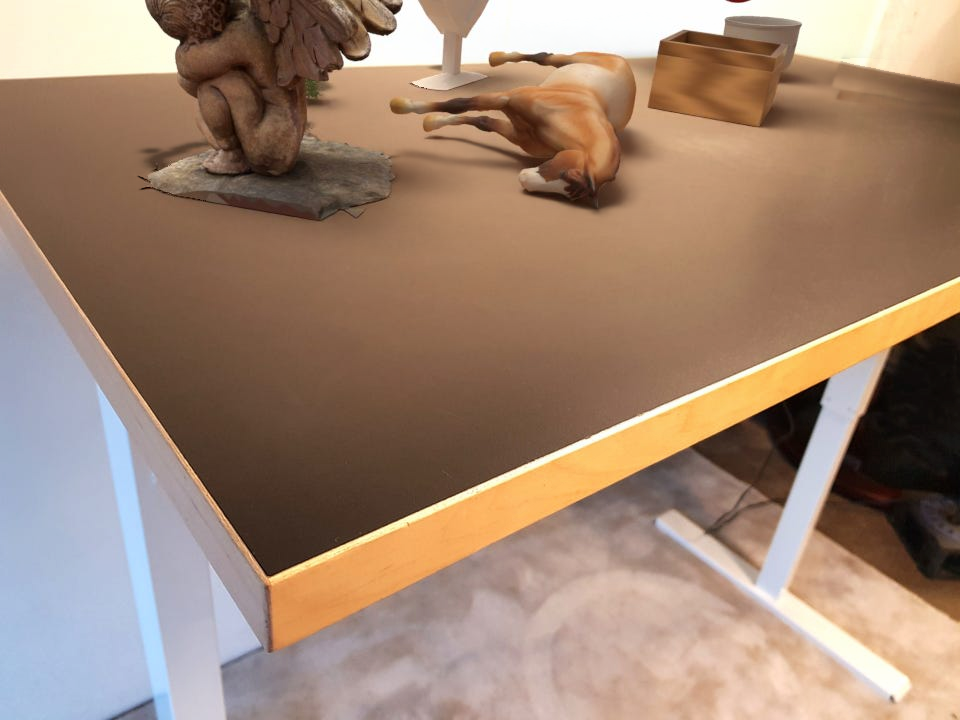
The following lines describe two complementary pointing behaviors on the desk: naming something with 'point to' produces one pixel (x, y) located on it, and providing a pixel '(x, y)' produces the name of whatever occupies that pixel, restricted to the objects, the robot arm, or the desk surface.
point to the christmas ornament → (737, 1)
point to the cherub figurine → (271, 102)
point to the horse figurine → (553, 119)
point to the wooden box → (717, 76)
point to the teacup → (765, 31)
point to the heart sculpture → (452, 39)
